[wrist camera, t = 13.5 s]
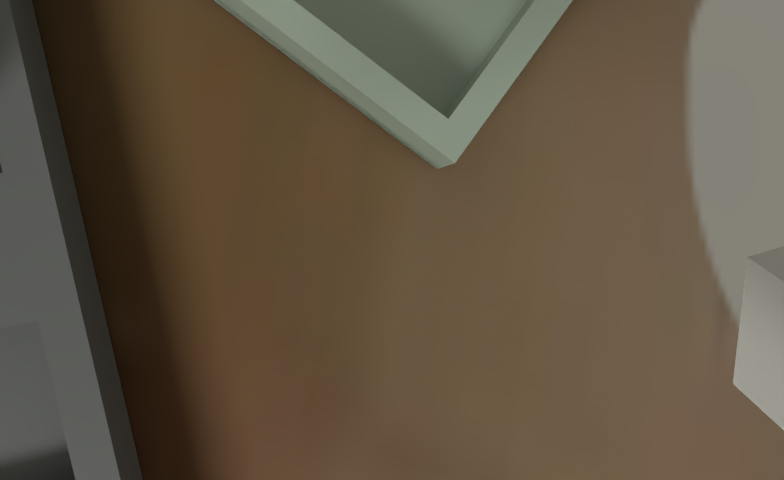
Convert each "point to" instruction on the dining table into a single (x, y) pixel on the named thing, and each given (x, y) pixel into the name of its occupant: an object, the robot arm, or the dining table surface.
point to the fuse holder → (49, 290)
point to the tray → (410, 58)
